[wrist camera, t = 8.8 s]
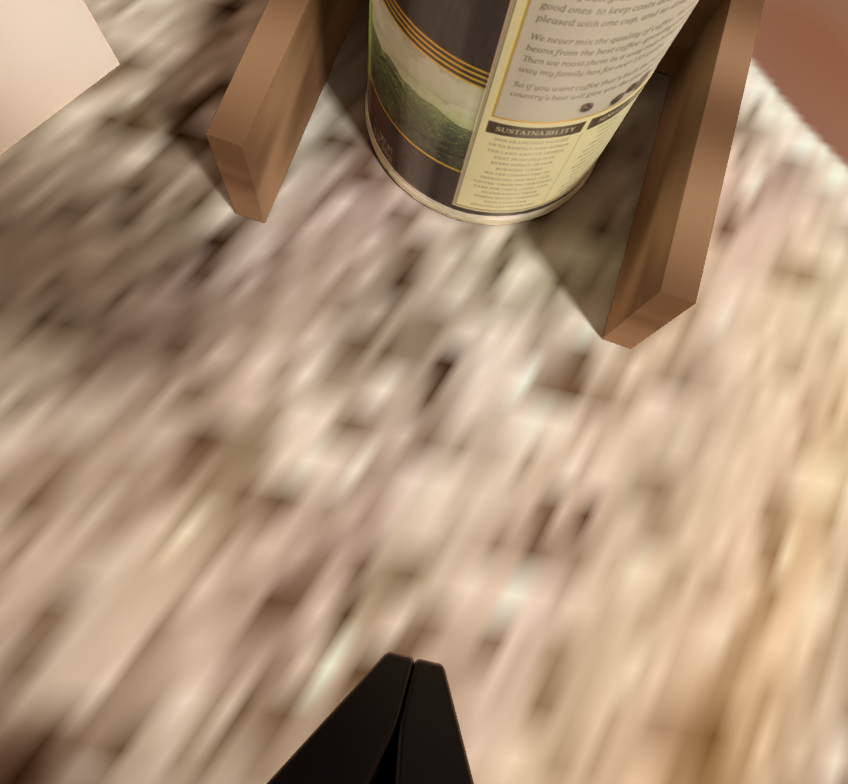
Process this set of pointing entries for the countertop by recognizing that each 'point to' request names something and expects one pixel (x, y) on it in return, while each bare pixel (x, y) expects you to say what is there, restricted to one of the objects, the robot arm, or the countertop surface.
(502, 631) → the countertop surface
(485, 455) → the countertop surface
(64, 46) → the milk
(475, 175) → the coffee can
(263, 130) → the brown tray
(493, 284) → the countertop surface
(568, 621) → the countertop surface
